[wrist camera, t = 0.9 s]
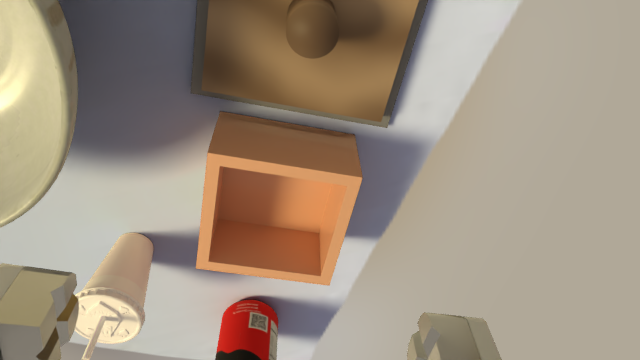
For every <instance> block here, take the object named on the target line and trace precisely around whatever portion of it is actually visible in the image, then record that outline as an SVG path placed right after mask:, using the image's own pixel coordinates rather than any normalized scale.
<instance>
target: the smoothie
mask: <svg viewBox="0 0 640 360" xmlns="http://www.w3.org/2000/svg"><path fill="white" fill-rule="evenodd" d="M153 250H154V247H153V244H152V242H151V241H150V240H149V239H148V238H147V237H146V236H144V235H141V234H138V233H126V234H123V235H122V236H120V237H119V238H118V240H117V241H116V243H115V244H114V246H113V247H112V249H111V250H110V251H109V253H108V254H107V256H106V257H105V259H104V260H103V261H102V263H101V264H100V266H99V267H98V269H97V270H96V272H95V273H94V274H93V276H92V277H91V279H90V280H89V282H88V283H87V284H86V286H85V287H84V289H83V290H82V291H81V292H79V293H77V294H76V295H75V296H76V297H77V298H78V301H79V312H78V319H77V322H76V326H75V331H76V332H77V333H79V334H80V335H82V336H83V337H85V338H88V339H90V341H89V343H88V346H87V348H86V350H85V353H84V355H83V357H82V360H89V359H90V357H91V354H92V352H93V350H94V347H95V345H96V342H100V343H108V344H115V343H122V342H126V341H129V340H131V339H133V338H134V337H135V336H137V335H138V333H139V332H140V330H141V328H142V325H143V323H144V321H145V312H144V310H143V307H144V302H145V295H146V290H147V284H148V278H149V273H150V267H151V262H152V256H153Z"/></svg>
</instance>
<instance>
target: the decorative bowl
mask: <svg viewBox="0 0 640 360" xmlns="http://www.w3.org/2000/svg"><path fill="white" fill-rule="evenodd" d="M77 102H78V78H77V68H76V59H75V54H74V49H73V44H72V39H71V36H70V32H69V29H68V25H67V22H66V19H65V17H64V14H63V11H62V8H61V6H60V4H59V2H58V0H0V227H2V226H4V225H6V224H8V223H10V222H12V221H14V220H15V219H17V218H19V217H20V216H22V215H23V214H25V213H26V212H27V211H28V210H30V209H31V208H32V207H33V206H34V205H35V204H36V203H38V202H39V201H40V200H41V199H42V197H43V196H44V195H45V194H46V193H47V192H48V190H49V189H50V188H51V186H52V185H53V183H54V182H55V180H56V179H57V177H58V175H59V173H60V171H61V169H62V167H63V165H64V162H65V160H66V157H67V155H68V152H69V149H70V145H71V142H72V138H73V134H74V128H75V122H76V116H77Z"/></svg>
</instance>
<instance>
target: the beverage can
mask: <svg viewBox="0 0 640 360" xmlns="http://www.w3.org/2000/svg"><path fill="white" fill-rule="evenodd" d="M277 336H278V318H277V315H276V313H275V311H274V310H273V309H272V308H271V307H270V306H268V305H267V304H265V303H263V302H261V301H257V300H243V301H240V302H237V303H234V304H233V305H231V306H230V307H229V308H227V310H226V311H225V312H224V314H223V317H222V323H221V329H220V335H219V341H218V347H217V353H216V359H215V360H276V357H277Z"/></svg>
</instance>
